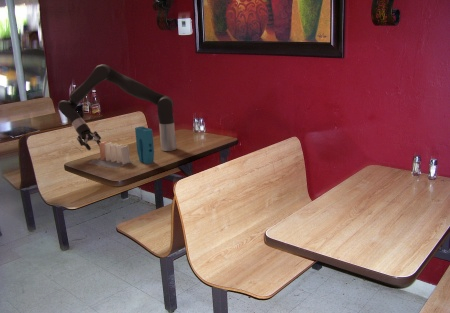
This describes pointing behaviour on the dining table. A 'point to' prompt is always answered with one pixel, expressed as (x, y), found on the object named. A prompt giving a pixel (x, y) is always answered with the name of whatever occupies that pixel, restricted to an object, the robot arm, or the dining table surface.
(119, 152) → the domino
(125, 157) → the domino
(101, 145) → the terracotta tile
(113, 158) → the domino
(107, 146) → the domino
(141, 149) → the block
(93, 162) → the mat
